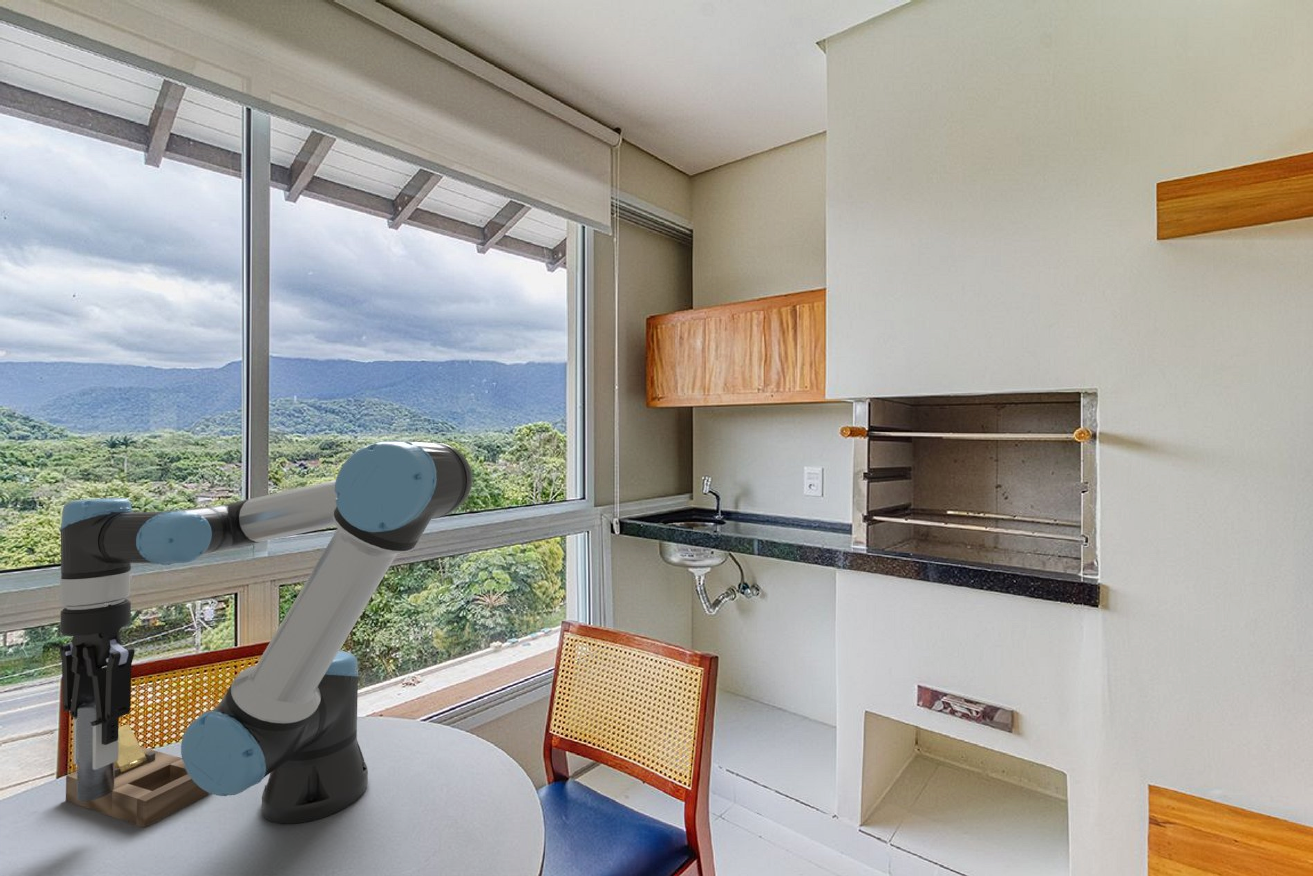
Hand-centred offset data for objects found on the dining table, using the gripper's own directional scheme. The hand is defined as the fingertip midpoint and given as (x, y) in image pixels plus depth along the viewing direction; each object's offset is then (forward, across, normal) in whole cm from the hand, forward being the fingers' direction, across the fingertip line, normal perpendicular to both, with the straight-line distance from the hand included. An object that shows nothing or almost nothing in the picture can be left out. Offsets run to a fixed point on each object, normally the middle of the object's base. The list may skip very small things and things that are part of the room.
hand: (95, 761), depth 86 cm
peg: (+5, 0, 0) cm, 5 cm away
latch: (+4, +11, -9) cm, 15 cm away
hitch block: (+11, +6, -9) cm, 15 cm away
